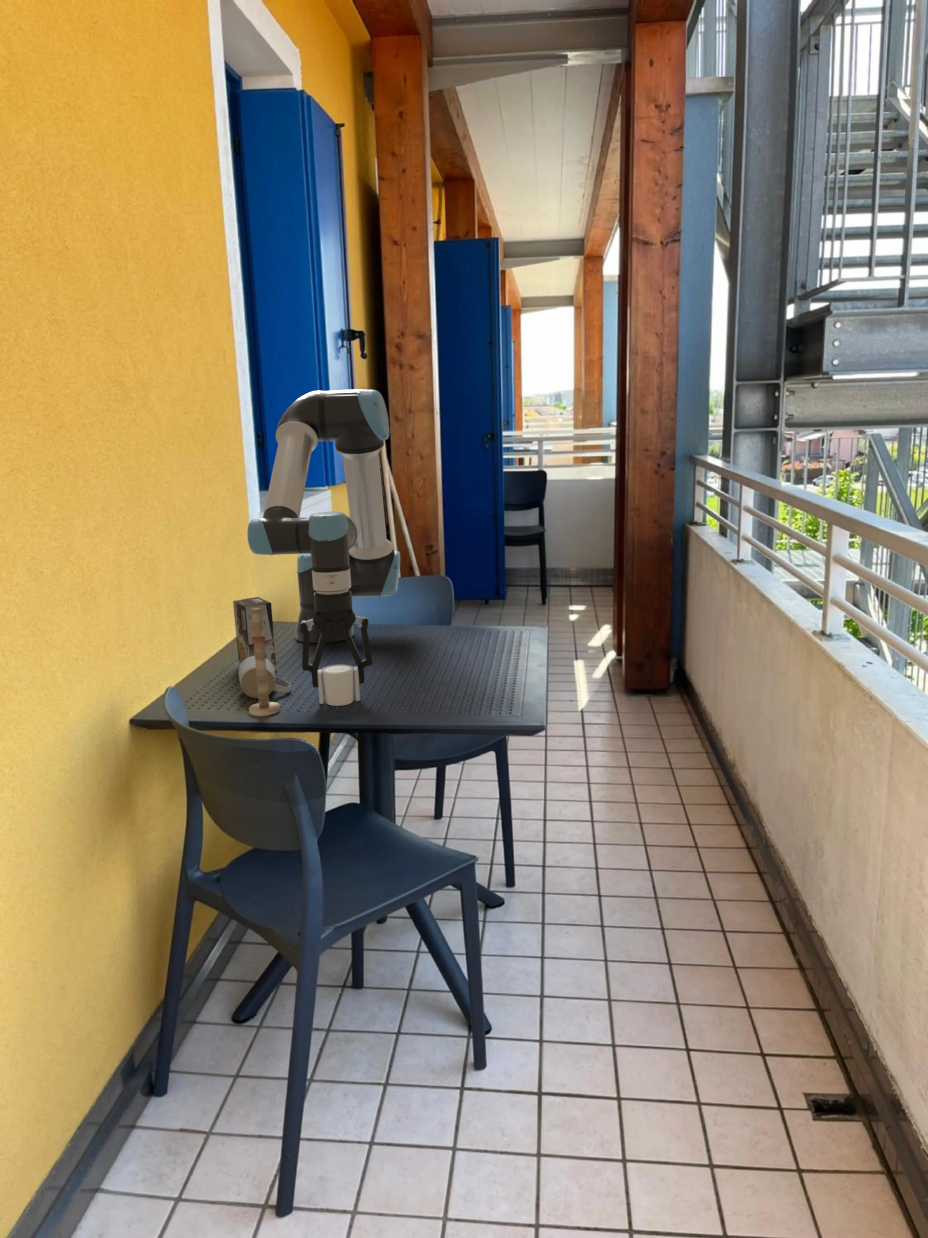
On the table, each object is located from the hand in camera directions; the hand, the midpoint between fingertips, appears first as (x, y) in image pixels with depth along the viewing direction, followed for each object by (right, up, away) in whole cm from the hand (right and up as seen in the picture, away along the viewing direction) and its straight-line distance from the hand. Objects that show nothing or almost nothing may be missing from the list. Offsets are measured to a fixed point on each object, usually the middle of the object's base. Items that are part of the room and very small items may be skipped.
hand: (339, 700), depth 187 cm
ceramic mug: (-17, 0, +8) cm, 19 cm away
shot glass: (0, 0, 0) cm, 1 cm away
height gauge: (-14, -2, -4) cm, 15 cm away
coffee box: (-23, +5, +26) cm, 35 cm away
